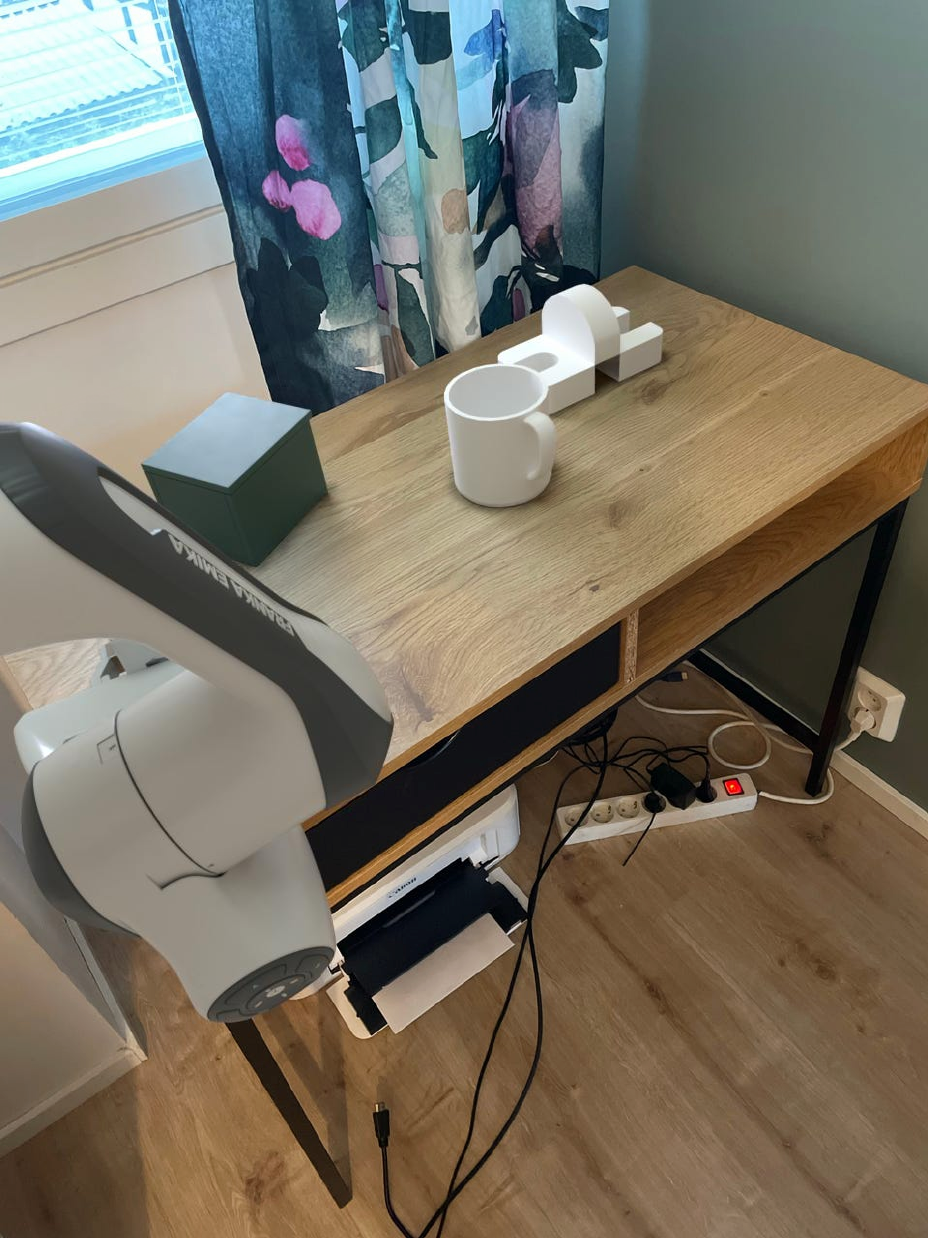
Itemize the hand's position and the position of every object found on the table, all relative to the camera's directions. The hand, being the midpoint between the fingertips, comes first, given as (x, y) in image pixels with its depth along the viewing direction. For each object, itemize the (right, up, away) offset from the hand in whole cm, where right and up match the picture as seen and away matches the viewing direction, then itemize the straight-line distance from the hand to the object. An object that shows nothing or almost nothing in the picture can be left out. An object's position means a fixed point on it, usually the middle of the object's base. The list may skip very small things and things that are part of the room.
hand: (153, 633), depth 66 cm
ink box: (+1, -5, +4) cm, 7 cm away
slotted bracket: (+36, +30, +40) cm, 62 cm away
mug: (+28, +15, +27) cm, 41 cm away
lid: (0, +18, +21) cm, 28 cm away
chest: (+1, +12, +27) cm, 29 cm away
